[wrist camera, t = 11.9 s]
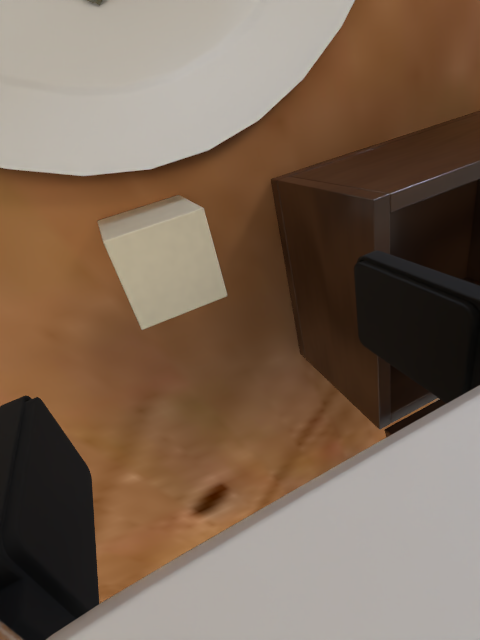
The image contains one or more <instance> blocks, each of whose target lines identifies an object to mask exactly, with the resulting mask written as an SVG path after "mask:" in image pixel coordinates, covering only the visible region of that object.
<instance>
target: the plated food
mask: <svg viewBox="0 0 480 640" xmlns="http://www.w3.org/2000/svg"><path fill="white" fill-rule="evenodd" d="M354 1H355V0H0V167H1V168H4V169H14V170H25V171H35V172H46V173H56V174H67V175H77V176H89V175H99V174H109V173H119V172H129V171H139V170H149V169H153V168H156V167H159V166H162V165H165V164H168V163H171V162H174V161H177V160H181V159H184V158H187V157H190V156H193V155H196V154H199V153H202V152H205V151H208V150H210V149H212V148H213V147H215V146H217V145H218V144H220V143H222V142H223V141H225V140H227V139H228V138H230V137H232V136H233V135H235V134H237V133H238V132H240V131H242V130H243V129H245V128H247V127H248V126H250V125H252V124H254V123H255V122H257V121H259V120H260V119H261V118H262V117H263V116H264V115H265V114H266V113H267V112H268V111H269V110H270V109H272V108H273V107H274V106H275V105H276V104H277V103H278V102H279V101H280V100H281V99H282V98H283V97H284V96H286V95H287V94H288V93H289V92H290V91H291V90H292V89H293V88H294V87H295V86H296V85H297V84H298V83H299V82H301V81H302V80H303V79H304V77H305V76H306V74H307V73H308V72H309V70H310V69H311V68H312V66H313V65H314V63H315V62H316V61H317V59H318V58H319V57H320V55H321V54H322V53H323V51H324V50H325V48H326V47H327V46H328V44H329V43H330V42H331V40H332V39H333V37H334V36H335V35H336V33H337V32H338V31H339V29H340V28H341V26H342V25H343V23H344V21H345V19H346V17H347V15H348V13H349V11H350V9H351V7H352V5H353V3H354Z"/></svg>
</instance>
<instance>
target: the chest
mask: <svg viewBox="0 0 480 640" xmlns="http://www.w3.org/2000/svg"><path fill="white" fill-rule="evenodd" d="M271 182H272V188H273V194H274V200H275V206H276V212H277V218H278V224H279V230H280V236H281V242H282V248H283V254H284V260H285V265H286V271H287V277H288V283H289V289H290V295H291V301H292V307H293V313H294V319H295V325H296V331H297V337H298V343H299V349H300V354H301V355H302V356H303V357H304V358H306V360H307V361H308V362H309V363H310V364H311V365H313V366H314V367H315V368H316V369H317V370H318V371H319V372H320V373H321V374H322V375H323V376H324V377H325V378H326V379H327V380H328V381H329V382H330V383H331V384H332V385H334V386H335V387H336V388H337V389H338V390H339V391H340V392H341V393H342V394H343V395H344V396H345V397H346V398H347V399H348V400H349V401H350V402H351V403H352V404H353V405H354V406H356V407H357V408H358V409H359V410H360V411H361V412H362V413H363V414H364V415H365V416H366V417H367V418H368V419H369V420H370V421H371V422H372V423H373V424H374V425H375V426H377V427H378V428H379V429H382V428H383V427H385V426H387V425H389V424H390V423H392V422H394V421H396V420H398V419H400V418H402V417H403V416H405V415H407V414H409V413H411V412H413V411H414V410H416V409H418V408H420V407H422V406H424V405H425V404H427V403H429V402H431V401H433V400H435V399H436V398H438V397H436V396H435V395H434V394H432V393H431V392H429V391H428V390H426V389H425V388H423V387H422V386H421V385H419V384H418V383H416V382H415V381H413V380H412V379H410V378H409V377H408V376H406V375H405V374H403V373H402V372H400V371H399V370H397V369H396V368H395V367H393V366H392V365H390V364H389V363H387V362H386V361H385V360H383V359H382V358H380V357H379V356H377V355H376V354H374V353H373V352H372V351H370V350H369V349H367V348H366V347H364V346H363V345H362V343H361V342H360V340H359V337H358V325H357V310H356V295H355V280H354V266H355V264H356V263H357V260H358V258H359V257H361V256H364V255H366V254H368V253H371V252H373V251H376V250H377V251H382V252H384V253H387V254H390V255H393V256H396V257H399V258H402V259H404V260H407V261H410V262H413V263H416V264H419V265H422V266H425V267H427V268H430V269H433V270H436V271H439V272H442V273H445V274H448V275H450V276H453V277H456V278H459V279H462V280H465V281H468V282H470V283H473V284H476V285H479V286H480V111H478V112H475V113H471V114H468V115H465V116H462V117H459V118H456V119H453V120H450V121H447V122H444V123H441V124H438V125H435V126H432V127H429V128H426V129H423V130H419V131H416V132H413V133H410V134H407V135H404V136H401V137H398V138H395V139H392V140H389V141H386V142H383V143H380V144H377V145H374V146H370V147H367V148H364V149H361V150H358V151H355V152H352V153H349V154H346V155H343V156H340V157H337V158H334V159H331V160H328V161H325V162H322V163H318V164H315V165H312V166H309V167H306V168H303V169H300V170H297V171H294V172H291V173H288V174H285V175H282V176H279V177H276V178H273V179H271Z"/></svg>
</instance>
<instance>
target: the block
mask: <svg viewBox="0 0 480 640" xmlns="http://www.w3.org/2000/svg"><path fill="white" fill-rule="evenodd" d="M98 225H99V229H100V233H101V236H102V240H103V243H104V245H105V248H106V250H107V252H108V254H109V257H110V259H111V261H112V264H113V266H114V268H115V270H116V273H117V275H118V277H119V279H120V282H121V284H122V286H123V289H124V291H125V293H126V295H127V298H128V300H129V302H130V305H131V307H132V309H133V311H134V314H135V316H136V318H137V320H138V323H139V325H140V327H141V329H142V330H143V329H146V328H148V327H151V326H153V325H156V324H158V323H161V322H163V321H166V320H168V319H171V318H174V317H176V316H179V315H181V314H184V313H186V312H189V311H191V310H194V309H196V308H199V307H201V306H204V305H206V304H209V303H211V302H214V301H216V300H219V299H221V298H224V297H226V296H227V292H226V288H225V285H224V281H223V277H222V273H221V270H220V266H219V262H218V259H217V255H216V251H215V248H214V244H213V240H212V237H211V233H210V229H209V226H208V222H207V218H206V215H205V211H204V208H202V207H201V206H199V205H197V204H195V203H193V202H191V201H189V200H188V199H186V198H184V197H182V196H180V195H177V196H174V197H171V198H168V199H164V200H161V201H158V202H155V203H152V204H149V205H145V206H142V207H139V208H136V209H133V210H130V211H127V212H123V213H120V214H117V215H114V216H111V217H108V218H104V219H101V220H98Z"/></svg>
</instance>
